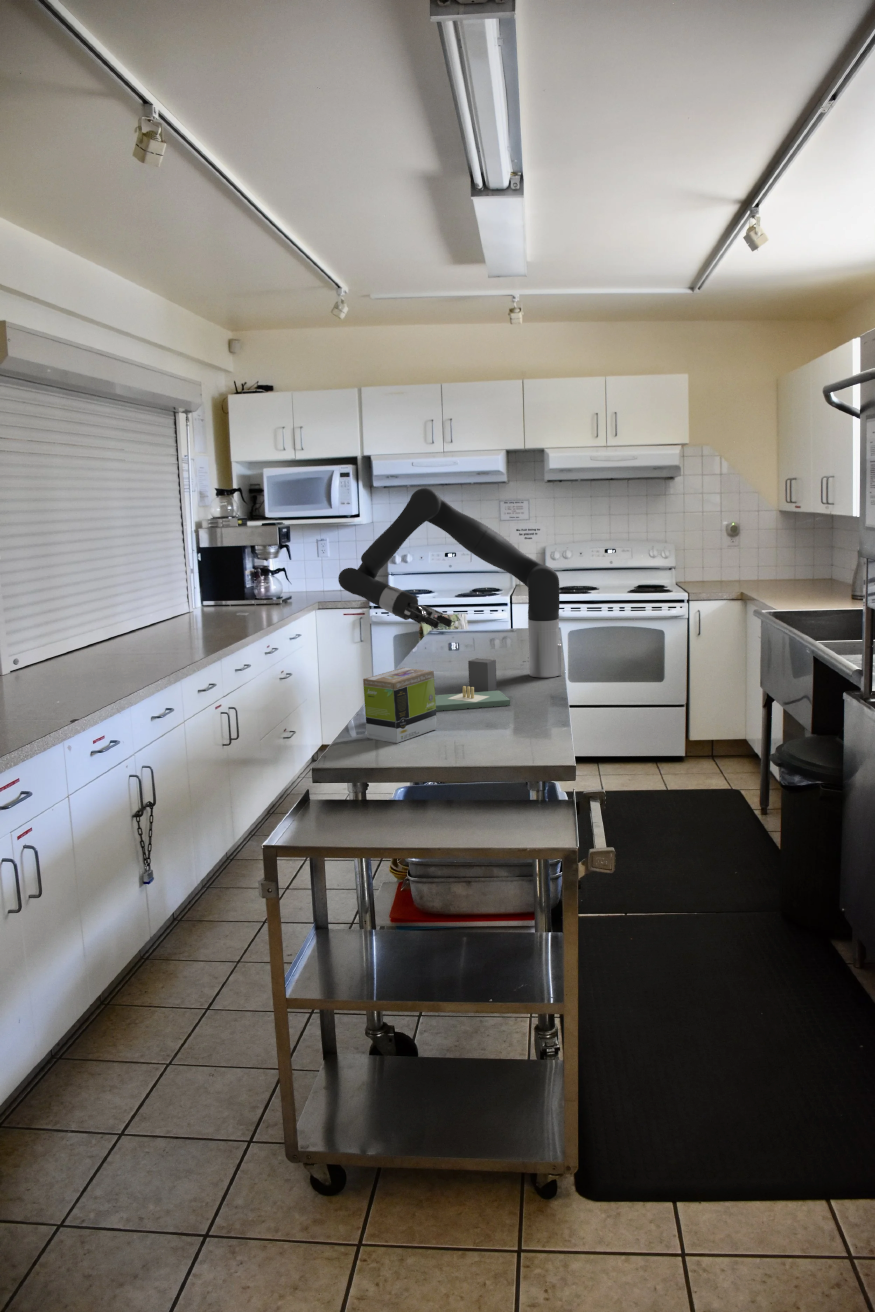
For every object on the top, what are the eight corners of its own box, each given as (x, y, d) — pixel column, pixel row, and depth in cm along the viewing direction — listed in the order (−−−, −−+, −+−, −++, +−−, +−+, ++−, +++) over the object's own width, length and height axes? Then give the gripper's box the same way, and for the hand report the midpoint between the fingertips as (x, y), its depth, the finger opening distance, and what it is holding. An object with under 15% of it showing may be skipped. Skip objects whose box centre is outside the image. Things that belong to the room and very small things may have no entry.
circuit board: (499, 695, 261) (498, 679, 261) (510, 705, 250) (509, 688, 249) (428, 701, 258) (427, 685, 257) (436, 711, 246) (435, 694, 245)
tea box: (406, 724, 234) (404, 666, 231) (438, 730, 227) (436, 670, 225) (365, 738, 222) (362, 677, 220) (396, 744, 216) (394, 681, 213)
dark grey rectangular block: (469, 691, 268) (468, 660, 266) (477, 688, 271) (476, 658, 270) (488, 694, 264) (487, 662, 262) (496, 690, 268) (495, 659, 266)
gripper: (391, 591, 269) (438, 613, 263) (413, 590, 282) (459, 611, 276) (382, 615, 271) (429, 638, 265) (405, 613, 284) (450, 635, 278)
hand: (444, 624), depth 271 cm, fingers open, 8 cm apart
